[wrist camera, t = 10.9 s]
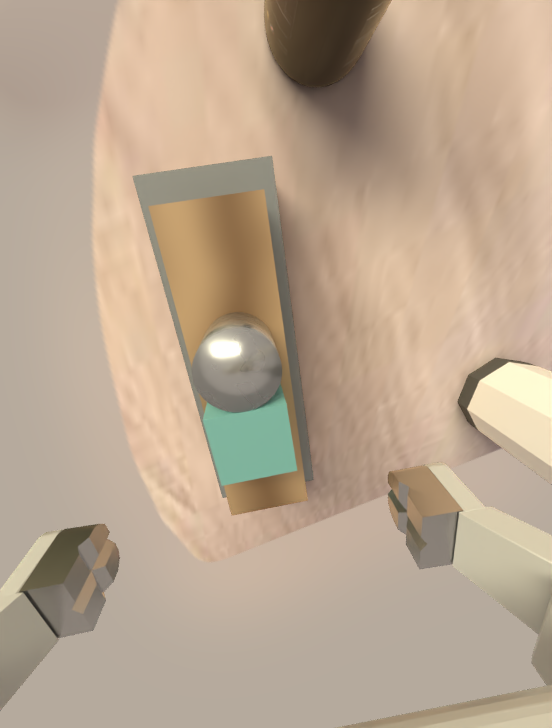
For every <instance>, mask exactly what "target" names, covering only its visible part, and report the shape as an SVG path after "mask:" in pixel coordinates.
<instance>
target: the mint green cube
mask: <svg viewBox="0 0 552 728" xmlns="http://www.w3.org/2000/svg"><path fill="white" fill-rule="evenodd" d="M203 423H204V427H205V430H206V433H207V437H208V440H209V444H210V447H211V451H212V454H213V458H214V461H215V465H216V468H217V472H218V475H219V478H220V482H221V485H222V486H224V485H229V484H234V483H239V482H244V481H249V480H254V479H259V478H263V477H268V476H273V475H278V474H283V473H288V472H293V471H297V465H296V459H295V453H294V447H293V441H292V435H291V428H290V422H289V416H288V410H287V404H286V401H285V397H284V394H283V390H282V387H281V383H280V385H279V387H278V389H277V391H276V393H275V394H274V395H273V397H272V398H271V399H270V400H269V401H268V402H266V403H265V404H264V405H262V406H260V407H258V408H256V409H254V410H251V411H247V412H228V411H223V410H221V409H218V408H216V407H214V406H212V405H211V404H209V403H208V402H207V405H206V409H205V413H204V417H203Z"/></svg>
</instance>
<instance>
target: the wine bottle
mask: <svg viewBox="0 0 552 728" xmlns="http://www.w3.org/2000/svg"><path fill="white" fill-rule="evenodd" d="M458 403H459V405H460V407H461V409H462V411H463V413H464V415H465V417H466V419H467V421H468V422H469V423H470V424H471V425H472V426H473V427H475V428H476V429H477V430H478V431H480V432H481V433H483V434H484V435H485V436H487V437H488V438H489V439H491V440H492V441H493V442H495V443H496V444H497V445H499V446H500V447H501V448H503V449H504V450H505V451H507V452H508V453H509V454H511V455H512V456H514V457H515V458H516V459H518V460H519V461H520V462H522V463H523V464H524V465H526V466H527V467H529V468H530V469H531V470H532V471H534V472H535V473H536V474H538V475H539V476H540V477H542V478H543V479H545V480H546V481H547V482H549V483H550V484H551V485H552V372H551V371H549V370H546V369H543V368H541V367H538V366H535V365H532V364H529V363H525V362H521V361H514V360H507V359H500V358H495V359H493V360H491V361H490V362H488V363H487V364H485V365H484V366H482V367H480V368H479V369H477V370H476V371H474V372H473V373H471V374H469V375H468V378H467V380H466V383H465V385H464V387H463V390H462V392H461V395H460V397H459V399H458Z"/></svg>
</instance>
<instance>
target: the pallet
mask: <svg viewBox="0 0 552 728" xmlns="http://www.w3.org/2000/svg"><path fill="white" fill-rule="evenodd" d="M148 207H149V211H150V214H151V218H152V222H153V226H154V229H155V233H156V237H157V240H158V244H159V248H160V251H161V255H162V259H163V263H164V266H165V270H166V274H167V277H168V281H169V285H170V289H171V292H172V296H173V300H174V303H175V307H176V311H177V314H178V318H179V322H180V326H181V329H182V333H183V337H184V340H185V344H186V348H187V351H188V355H189V359H190V363H191V366H192V363H193V359H194V356H195V354H196V352H197V350H198V348H199V346H200V344H201V342H202V339H203V337H204V335H205V333H206V331H207V329H208V328H209V326H210V325H211V324H212V323H213V322H214V321H215V320H216V319H218V318H219V317H221V316H223V315H225V314H228V313H233V312H243V313H248V314H251V315H253V316H256V317H257V318H259V319H260V320H261V321H263V322H264V323H265V325H266V326H267V327H268V329H269V330H270V332H271V335H272V337H273V340H274V343H275V346H276V349H277V351H278V354H279V357H280V360H281V364H282V378H281V382H280V383H281V387H282V390H283V394H284V397H285V401H286V404H287V410H288V416H289V422H290V428H291V435H292V441H293V447H294V453H295V459H296V465H297V471H293V472H288V473H283V474H278V475H273V476H268V477H263V478H259V479H254V480H249V481H244V482H239V483H234V484H229V485H224V488H225V492H226V496H227V500H228V503H229V507H230V511H231V514H232V515H237V514H242V513H247V512H252V511H257V510H262V509H267V508H272V507H277V506H282V505H287V504H292V503H297V502H302V501H307V500H308V499H307V492H306V484H305V477H304V470H303V463H302V456H301V449H300V441H299V434H298V427H297V420H296V413H295V406H294V398H293V391H292V384H291V377H290V370H289V363H288V355H287V348H286V341H285V334H284V327H283V320H282V312H281V305H280V298H279V291H278V284H277V277H276V269H275V262H274V255H273V248H272V241H271V234H270V226H269V219H268V212H267V205H266V198H265V191H264V189H262V190H255V191H248V192H241V193H235V194H228V195H221V196H214V197H207V198H200V199H194V200H187V201H180V202H173V203H166V204H159V205H153V206H148ZM199 396H200V400H201V403H202V407H203V411H204V413H205V409H206V405H207V401H205V400H204V399H203V398H202V397H201V395H200V394H199Z"/></svg>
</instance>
